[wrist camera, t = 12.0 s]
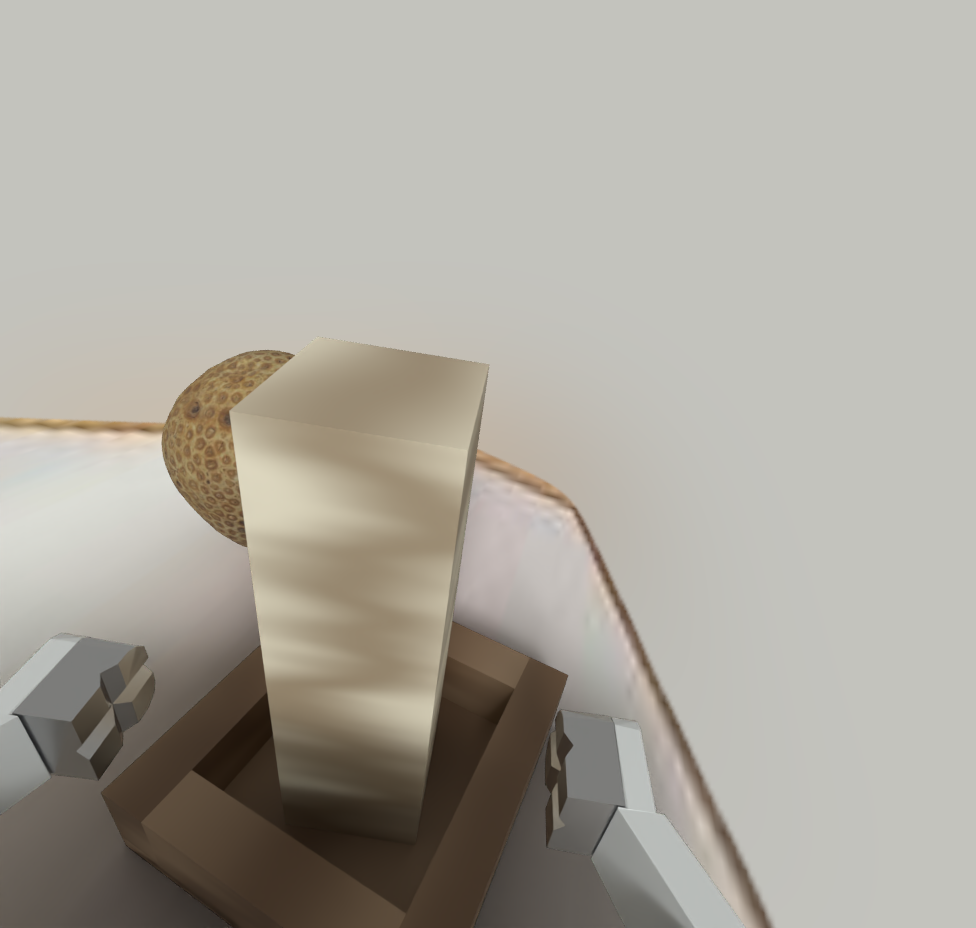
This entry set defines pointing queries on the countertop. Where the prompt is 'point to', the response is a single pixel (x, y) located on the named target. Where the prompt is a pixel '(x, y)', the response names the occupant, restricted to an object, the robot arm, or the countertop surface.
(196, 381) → the natural sponge
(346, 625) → the beige tall block
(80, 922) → the countertop surface
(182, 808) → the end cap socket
